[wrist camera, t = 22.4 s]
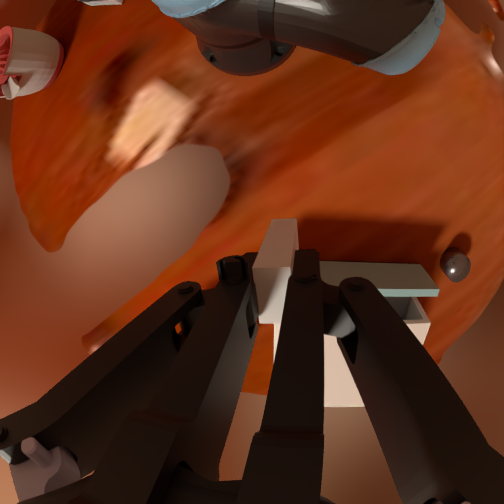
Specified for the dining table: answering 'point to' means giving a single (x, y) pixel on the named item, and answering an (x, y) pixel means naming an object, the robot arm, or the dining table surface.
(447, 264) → the grey knob
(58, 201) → the dining table surface
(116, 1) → the tea box
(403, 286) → the drawer
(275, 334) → the white drawer box
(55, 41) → the citrus juicer
